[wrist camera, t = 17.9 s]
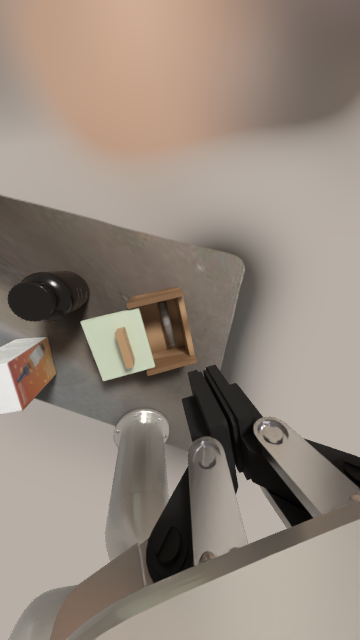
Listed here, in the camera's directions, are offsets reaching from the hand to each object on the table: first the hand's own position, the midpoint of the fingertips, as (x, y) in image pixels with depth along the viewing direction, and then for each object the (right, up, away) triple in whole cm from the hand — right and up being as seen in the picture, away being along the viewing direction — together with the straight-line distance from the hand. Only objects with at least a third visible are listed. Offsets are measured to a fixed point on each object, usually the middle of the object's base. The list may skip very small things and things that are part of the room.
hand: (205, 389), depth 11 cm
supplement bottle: (-21, +9, +22) cm, 32 cm away
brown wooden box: (-5, +3, +27) cm, 27 cm away
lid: (-11, 0, +20) cm, 23 cm away
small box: (-29, -3, +25) cm, 38 cm away
